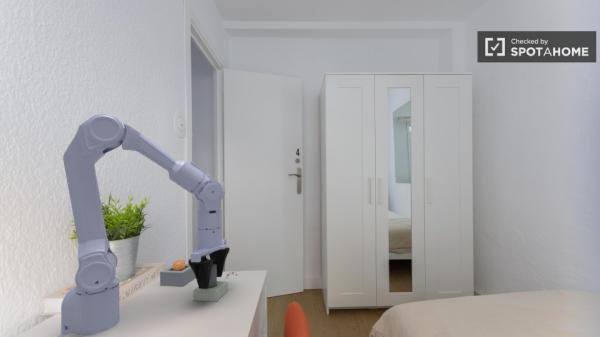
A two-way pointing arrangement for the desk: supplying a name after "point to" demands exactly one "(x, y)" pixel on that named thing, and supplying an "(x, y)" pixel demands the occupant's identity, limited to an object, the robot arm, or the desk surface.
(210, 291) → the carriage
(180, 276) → the grey square socket block
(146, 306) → the desk surface
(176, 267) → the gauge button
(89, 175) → the robot arm
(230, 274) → the game controller
